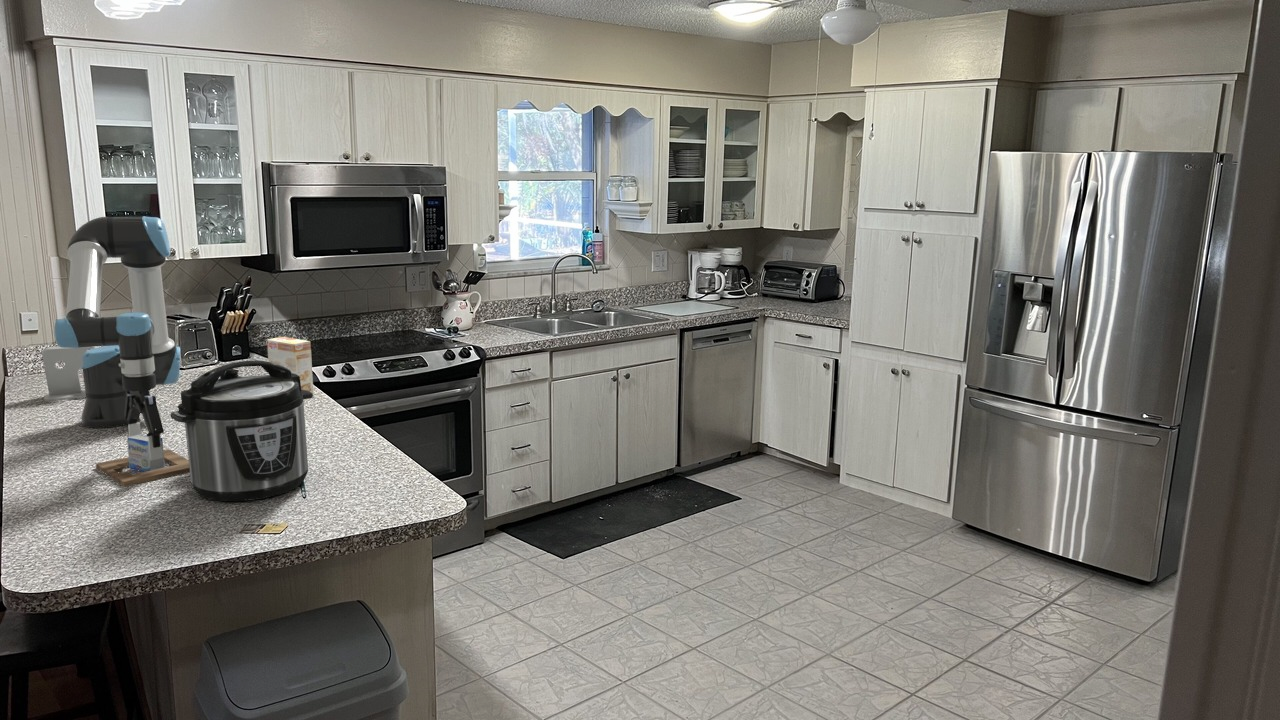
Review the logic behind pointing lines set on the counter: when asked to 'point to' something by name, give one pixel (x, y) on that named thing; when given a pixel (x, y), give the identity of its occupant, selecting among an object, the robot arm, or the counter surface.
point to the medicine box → (142, 454)
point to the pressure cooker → (245, 432)
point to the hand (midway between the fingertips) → (146, 453)
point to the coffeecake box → (293, 358)
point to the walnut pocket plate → (126, 478)
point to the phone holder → (63, 372)
